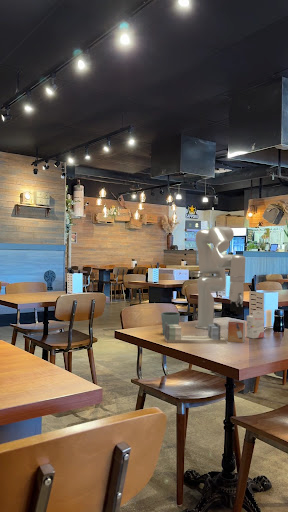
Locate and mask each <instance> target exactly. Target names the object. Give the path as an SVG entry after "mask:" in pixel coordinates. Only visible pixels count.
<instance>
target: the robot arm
mask: <svg viewBox="0 0 288 512" xmlns="http://www.w3.org/2000/svg"><path fill="white" fill-rule="evenodd" d="M234 235H235V234H234V230H233V229H232V228H231V227H229V226H217V225H216V226H212V227H210V228H207V229H206V228H203V229H199V230H198V231H197V232H196V233H195V245H196V247H197V251H198V252H197V253H198V269H199V272H200V273H201V274H203V275H202V276H199V277H198V278H197V279H196V285H197V295H198V296H197V297H198V298H197V323H196V324H195V326H194V327H195V328H197V329H200V330H208V325H214V313H215V309H214V308H215V300H214V299H215V298H214V296H213V294H212V293H211V292H213V293H214V292H223V291H224V290H225V289H226V283H227V281H226V279H227V278H226V269H229V292H228V299H229V300H230V312H235V315H243V305H244V303H243V302H244V295H245V294H244V292H245V291H244V288H245V287H244V283H245V279H246V257H245V256H244V255H238V254H224V252H226V251H227V250H228V249H229V247H230V246H231V245H230V242H231V241H232V240H233V238H234ZM209 244H213V246H214V247H213V249H212V248H211V246H210V245H209ZM222 253H223V254H222ZM204 274H205V275H204ZM207 274H209V275H207ZM210 274H211V275H210ZM212 274H213V275H212ZM214 274H215V275H214Z"/></svg>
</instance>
